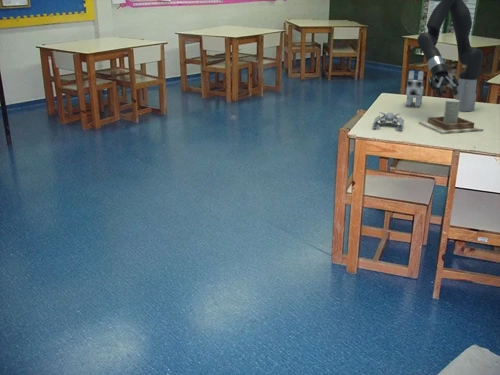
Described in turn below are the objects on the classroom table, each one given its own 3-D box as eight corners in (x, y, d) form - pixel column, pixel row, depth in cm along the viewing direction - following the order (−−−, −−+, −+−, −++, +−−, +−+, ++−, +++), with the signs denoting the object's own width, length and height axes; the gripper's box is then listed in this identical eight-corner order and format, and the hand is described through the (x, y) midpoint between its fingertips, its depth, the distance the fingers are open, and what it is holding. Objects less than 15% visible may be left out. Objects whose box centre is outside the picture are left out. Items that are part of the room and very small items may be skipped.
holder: (456, 121, 266) (457, 114, 265) (483, 131, 248) (484, 123, 247) (418, 123, 261) (419, 116, 259) (442, 134, 243) (443, 126, 241)
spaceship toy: (372, 131, 249) (373, 118, 246) (375, 121, 267) (376, 109, 264) (402, 133, 245) (403, 120, 243) (404, 123, 263) (405, 111, 260)
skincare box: (457, 124, 255) (460, 100, 250) (456, 126, 251) (459, 101, 247) (443, 123, 257) (446, 98, 253) (442, 125, 253) (445, 100, 249)
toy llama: (422, 102, 307) (426, 68, 300) (418, 109, 292) (422, 72, 285) (408, 101, 310) (412, 67, 303) (404, 107, 295) (408, 71, 288)
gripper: (428, 63, 255) (439, 91, 248) (454, 62, 258) (465, 89, 252) (421, 73, 261) (431, 100, 255) (446, 71, 265) (457, 98, 259)
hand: (448, 95), depth 254 cm, fingers open, 8 cm apart
